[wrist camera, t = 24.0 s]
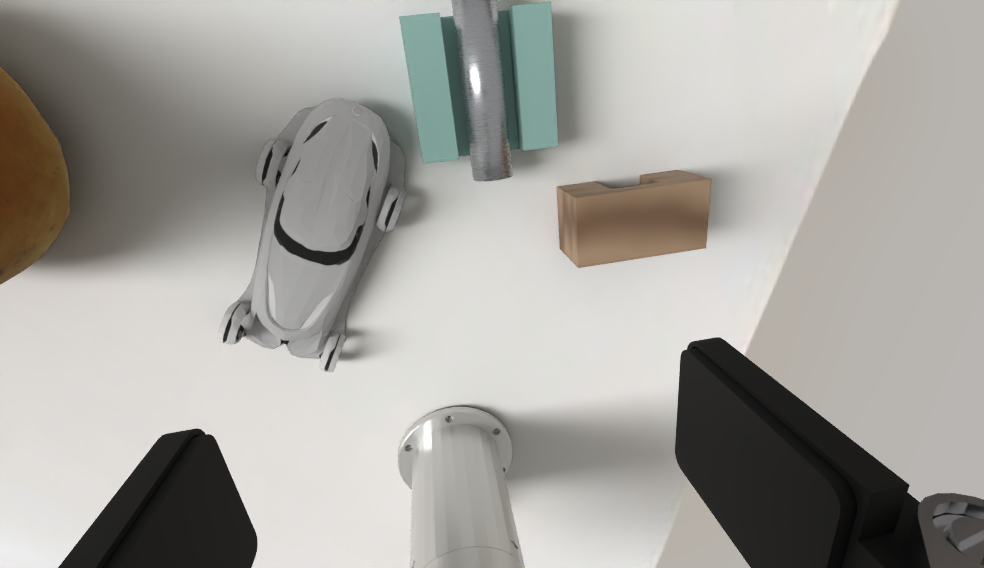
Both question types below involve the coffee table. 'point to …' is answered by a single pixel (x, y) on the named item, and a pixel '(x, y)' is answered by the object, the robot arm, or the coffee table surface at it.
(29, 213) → the ceramic pitcher
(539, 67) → the v block
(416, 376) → the coffee table surface
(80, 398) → the coffee table surface
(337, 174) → the car model
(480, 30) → the axle
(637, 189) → the wooden bridge block
